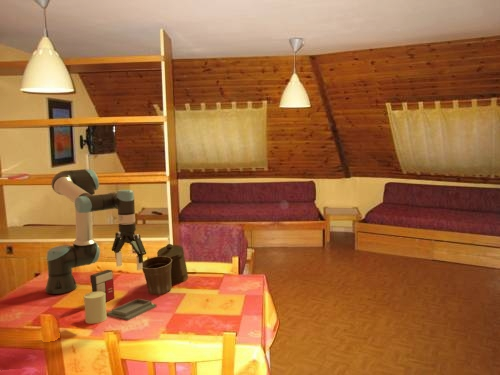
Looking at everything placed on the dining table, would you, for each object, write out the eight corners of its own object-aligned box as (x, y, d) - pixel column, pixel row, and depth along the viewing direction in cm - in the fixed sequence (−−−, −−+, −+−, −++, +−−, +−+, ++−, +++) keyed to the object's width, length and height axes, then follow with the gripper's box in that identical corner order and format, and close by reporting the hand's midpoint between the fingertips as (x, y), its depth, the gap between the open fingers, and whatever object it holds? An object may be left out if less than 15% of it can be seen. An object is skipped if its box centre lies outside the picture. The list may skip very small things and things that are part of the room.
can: (88, 316, 191) (87, 290, 190) (109, 314, 192) (107, 289, 191) (82, 324, 182) (80, 297, 181) (104, 323, 183) (102, 296, 182)
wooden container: (183, 269, 246) (177, 236, 239) (191, 280, 233) (185, 245, 226) (158, 277, 240) (152, 243, 233) (166, 289, 228) (159, 253, 220)
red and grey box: (97, 306, 203) (95, 276, 202) (92, 304, 206) (90, 275, 204) (115, 298, 213) (113, 270, 211) (109, 297, 215) (108, 269, 214)
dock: (106, 314, 192) (106, 309, 192) (135, 301, 207) (135, 297, 207) (128, 320, 185) (127, 314, 185) (156, 306, 200) (156, 301, 200)
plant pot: (146, 300, 211) (142, 270, 208) (142, 287, 226) (138, 259, 222) (178, 292, 217) (174, 264, 214) (171, 281, 232) (168, 253, 228)
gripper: (102, 222, 196) (104, 266, 198) (140, 226, 183) (142, 273, 185) (114, 219, 202) (117, 262, 204) (152, 223, 189) (154, 268, 191)
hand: (129, 267), depth 195 cm, fingers open, 13 cm apart
